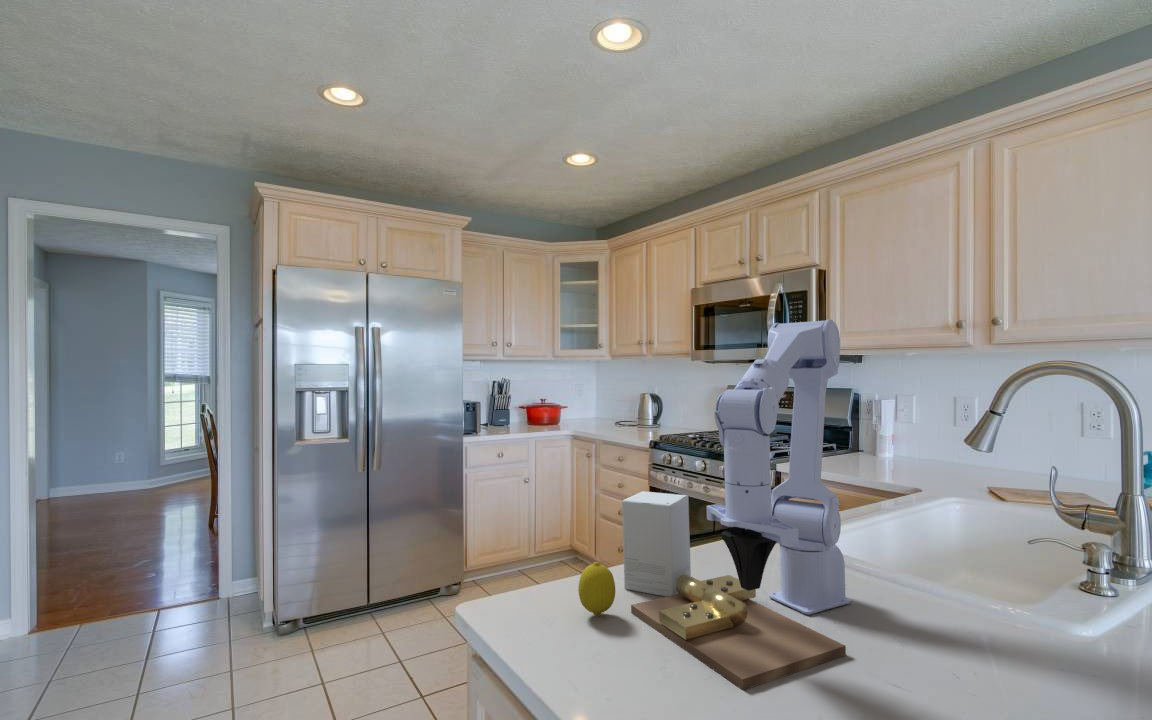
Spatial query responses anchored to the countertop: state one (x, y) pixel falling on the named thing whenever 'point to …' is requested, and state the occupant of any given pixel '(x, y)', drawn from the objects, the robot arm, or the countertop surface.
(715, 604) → the plate
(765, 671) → the walnut board
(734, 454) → the robot arm
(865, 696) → the countertop surface
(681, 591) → the fixed leaf
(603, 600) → the lemon
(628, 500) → the supplement box
